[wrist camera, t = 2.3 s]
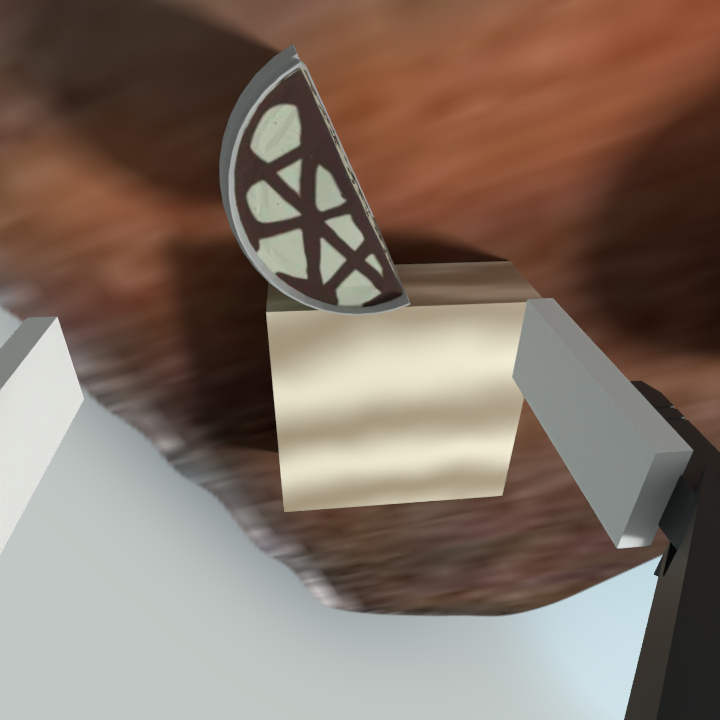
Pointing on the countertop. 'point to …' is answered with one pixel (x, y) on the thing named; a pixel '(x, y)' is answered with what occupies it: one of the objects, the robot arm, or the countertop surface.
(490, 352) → the ash block
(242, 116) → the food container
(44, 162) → the countertop surface
